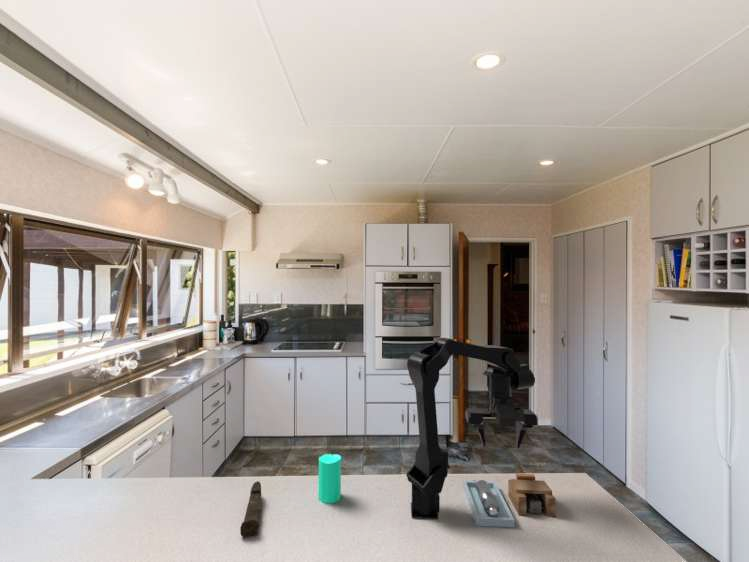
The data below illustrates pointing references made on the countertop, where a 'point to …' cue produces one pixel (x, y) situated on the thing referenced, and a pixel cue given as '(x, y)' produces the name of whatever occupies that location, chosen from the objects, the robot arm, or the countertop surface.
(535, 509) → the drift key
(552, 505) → the socket block
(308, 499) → the countertop surface
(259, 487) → the dark brown rod
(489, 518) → the tray
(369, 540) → the countertop surface
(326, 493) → the candle
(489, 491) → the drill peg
